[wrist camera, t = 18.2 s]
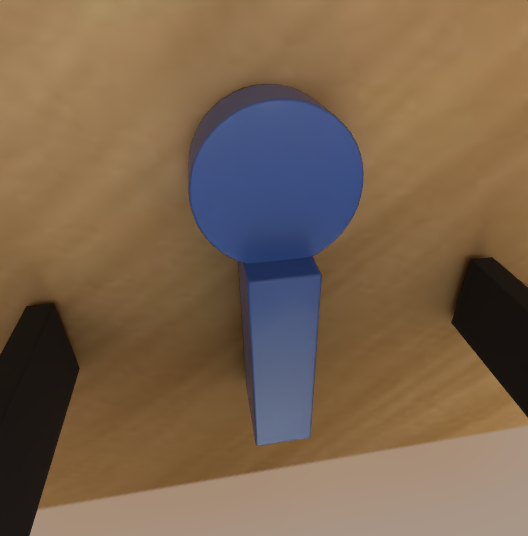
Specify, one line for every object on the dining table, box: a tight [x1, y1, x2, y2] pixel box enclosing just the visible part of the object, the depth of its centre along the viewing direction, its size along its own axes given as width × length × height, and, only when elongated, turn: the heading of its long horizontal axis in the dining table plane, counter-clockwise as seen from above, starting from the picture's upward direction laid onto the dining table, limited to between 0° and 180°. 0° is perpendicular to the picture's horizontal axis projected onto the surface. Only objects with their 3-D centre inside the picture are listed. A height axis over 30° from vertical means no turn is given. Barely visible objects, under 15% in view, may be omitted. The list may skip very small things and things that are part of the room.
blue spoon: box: [188, 84, 363, 446], centre depth 11 cm, size 10×4×3 cm, turn 1°
